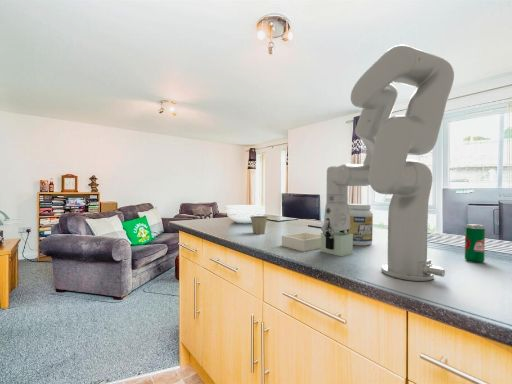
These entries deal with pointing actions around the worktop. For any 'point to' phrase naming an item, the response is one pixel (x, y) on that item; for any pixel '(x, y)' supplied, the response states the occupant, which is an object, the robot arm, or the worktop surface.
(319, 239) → the tray
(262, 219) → the flower pot
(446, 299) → the worktop surface
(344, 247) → the block
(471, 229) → the soda can
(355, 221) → the supplement tub
